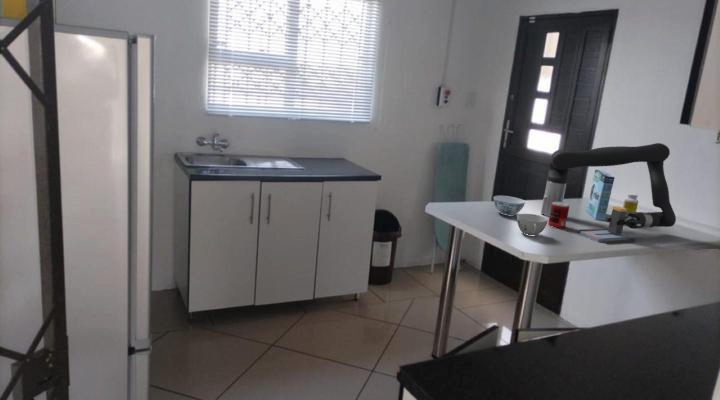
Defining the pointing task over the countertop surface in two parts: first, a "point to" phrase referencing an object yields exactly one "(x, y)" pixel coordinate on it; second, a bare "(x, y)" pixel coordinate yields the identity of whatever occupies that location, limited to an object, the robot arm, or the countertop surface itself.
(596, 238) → the blue rectangular board
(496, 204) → the chinaware
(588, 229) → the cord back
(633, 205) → the supplement bottle
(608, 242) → the dark grey long bar
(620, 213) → the block
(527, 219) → the teacup
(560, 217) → the canned food
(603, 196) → the gum box
